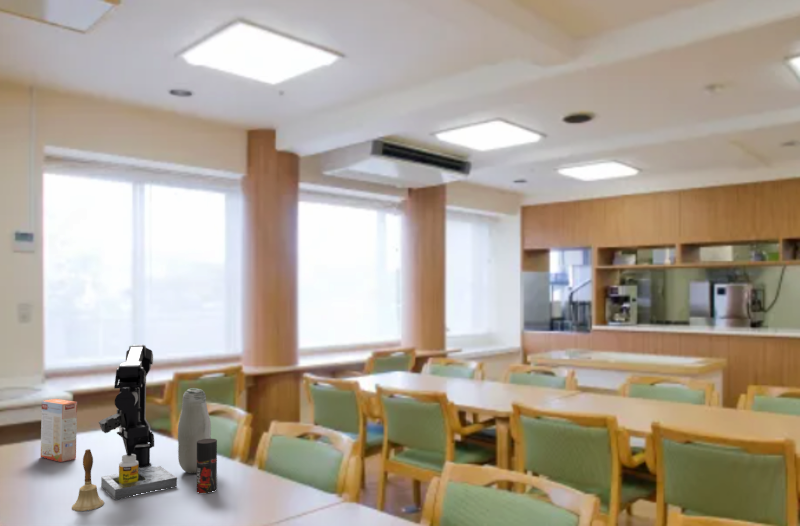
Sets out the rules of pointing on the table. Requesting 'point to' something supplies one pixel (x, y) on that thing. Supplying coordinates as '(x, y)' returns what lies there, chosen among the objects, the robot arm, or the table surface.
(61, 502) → the table surface
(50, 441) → the cracker box
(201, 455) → the deodorant
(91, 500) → the hand bell
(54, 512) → the table surface
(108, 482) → the jig block
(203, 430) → the gray bottle
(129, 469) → the supplement bottle
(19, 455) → the table surface
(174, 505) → the table surface
